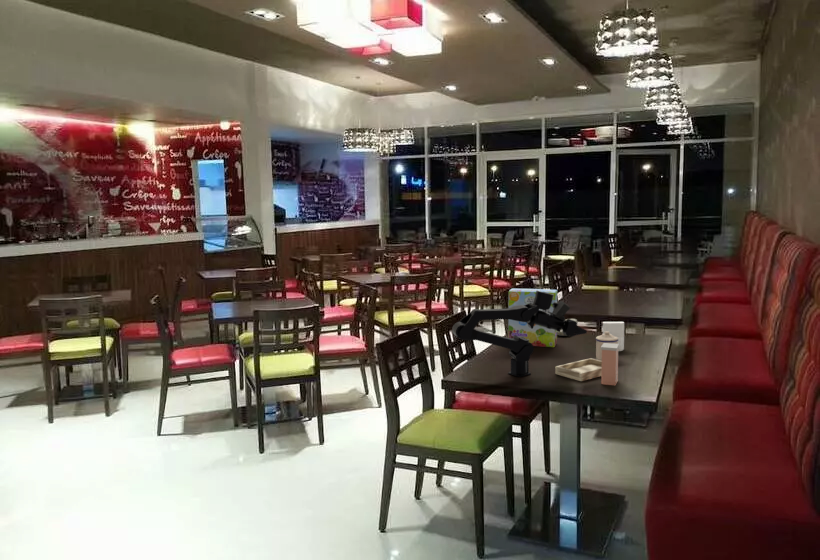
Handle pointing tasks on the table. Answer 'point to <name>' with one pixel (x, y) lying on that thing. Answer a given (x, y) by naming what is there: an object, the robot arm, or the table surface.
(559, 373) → the tray
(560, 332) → the elongated rock
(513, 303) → the snack box
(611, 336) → the teacup with lid
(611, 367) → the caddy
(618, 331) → the base with upright slab
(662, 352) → the table surface
